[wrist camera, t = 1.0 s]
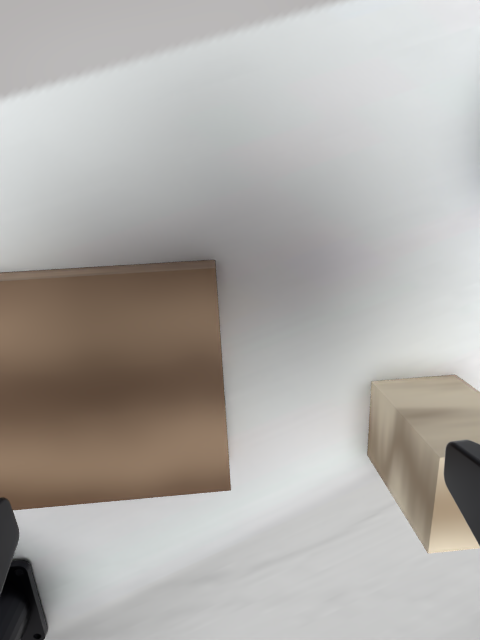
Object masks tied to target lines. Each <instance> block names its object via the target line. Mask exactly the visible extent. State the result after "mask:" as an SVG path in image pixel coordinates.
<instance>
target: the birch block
mask: <svg viewBox="0 0 480 640" xmlns="http://www.w3.org/2000/svg"><path fill="white" fill-rule="evenodd" d="M458 440H470V441H473V442H475V443H478V444H480V392H479V391H478V390H476V389H475V388H473V387H472V386H471V385H469V384H468V383H466V382H465V381H464V380H462V379H461V378H459V377H458V376H456V375H445V376H432V377H419V378H407V379H394V380H381V381H372V382H371V399H370V416H369V433H368V451H367V455H368V457H369V459H370V460H371V462H372V464H373V465H374V467H375V468H376V470H377V472H378V473H379V475H380V476H381V478H382V480H383V481H384V483H385V485H386V486H387V488H388V489H389V491H390V493H391V494H392V496H393V498H394V499H395V501H396V502H397V504H398V506H399V507H400V509H401V510H402V512H403V514H404V515H405V517H406V519H407V520H408V522H409V523H410V525H411V527H412V528H413V530H414V532H415V533H416V535H417V536H418V538H419V540H420V541H421V543H422V544H423V546H424V548H425V549H426V551H427V553H428V554H429V553H438V552H448V551H458V550H467V549H477V548H480V546H479V544H478V542H477V541H476V539H475V537H474V535H473V533H472V532H471V530H470V528H469V526H468V524H467V523H466V521H465V519H464V517H463V515H462V514H461V512H460V510H459V508H458V506H457V504H456V503H455V501H454V499H453V497H452V495H451V494H450V492H449V490H448V488H447V486H446V484H445V480H444V462H445V450H446V446H447V444H448V443H449V442H451V441H458Z"/></svg>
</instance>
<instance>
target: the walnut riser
mask: <svg viewBox="0 0 480 640" xmlns="http://www.w3.org/2000/svg"><path fill="white" fill-rule="evenodd" d="M229 490H231V484H230V469H229V455H228V440H227V425H226V411H225V396H224V382H223V367H222V353H221V338H220V324H219V309H218V294H217V280H216V265H215V260H201V261H185V262H168V263H152V264H135V265H118V266H102V267H85V268H69V269H52V270H35V271H19V272H2V273H0V497H4V498H7V499H8V500H9V502H10V504H11V507H12V510H21V509H32V508H43V507H54V506H65V505H76V504H87V503H98V502H109V501H120V500H131V499H142V498H153V497H164V496H175V495H185V494H196V493H207V492H218V491H229Z"/></svg>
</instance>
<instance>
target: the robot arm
mask: <svg viewBox="0 0 480 640" xmlns="http://www.w3.org/2000/svg"><path fill="white" fill-rule="evenodd" d="M444 480H445V484H446V486H447V488H448V490H449V492H450V494H451V495H452V497H453V499H454V501H455V503H456V504H457V506H458V508H459V510H460V512H461V514H462V515H463V517H464V519H465V521H466V523H467V524H468V526H469V528H470V530H471V532H472V533H473V535H474V537H475V539H476V541H477V542H478V544H479V546H480V444H478V443H475V442H473V441H470V440H458V441H451V442H449V443H448V444H447V446H446V450H445V462H444ZM18 540H19V528H18V525H17V522H16V519H15V516H14V513H13V510H12V507H11V504H10V502H9V500H8V499H7V498H4V497H0V640H44V639H45V637H46V634H47V631H48V629H47V625H46V621H45V618H44V614H43V610H42V607H41V603H40V599H39V596H38V592H37V588H36V585H35V581H34V577H33V574H32V570H31V566H30V564H29V563H28V562H27V561H24V560H18V561H12V559H13V556H14V553H15V550H16V547H17V544H18Z"/></svg>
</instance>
